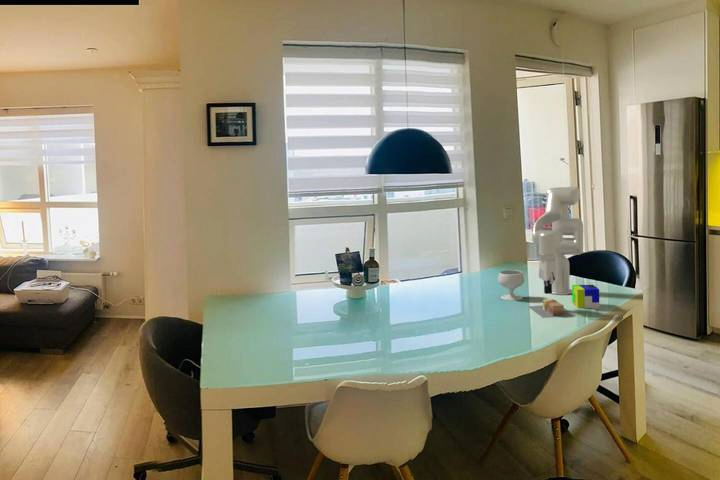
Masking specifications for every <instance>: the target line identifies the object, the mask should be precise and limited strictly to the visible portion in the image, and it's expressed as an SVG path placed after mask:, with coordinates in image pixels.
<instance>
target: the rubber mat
mask: <svg viewBox="0 0 720 480" xmlns="http://www.w3.org/2000/svg"><path fill="white" fill-rule="evenodd" d="M527 308H529V309H530V310H532V312H534V313H536V314H537V315H539V316H540V317H541V318H542V319H545V318H547V319H549V318H561V317H562V318H564V317H565V318H566V317H576V316H577V315H576V314H575V313H574V312H571V311H570V310H568V309H567V308H565V307H564V316H552V315H551V314H549V313H548V312H546V311H545V310H544V309H543V304H542V305H528V306H527Z"/></svg>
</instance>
